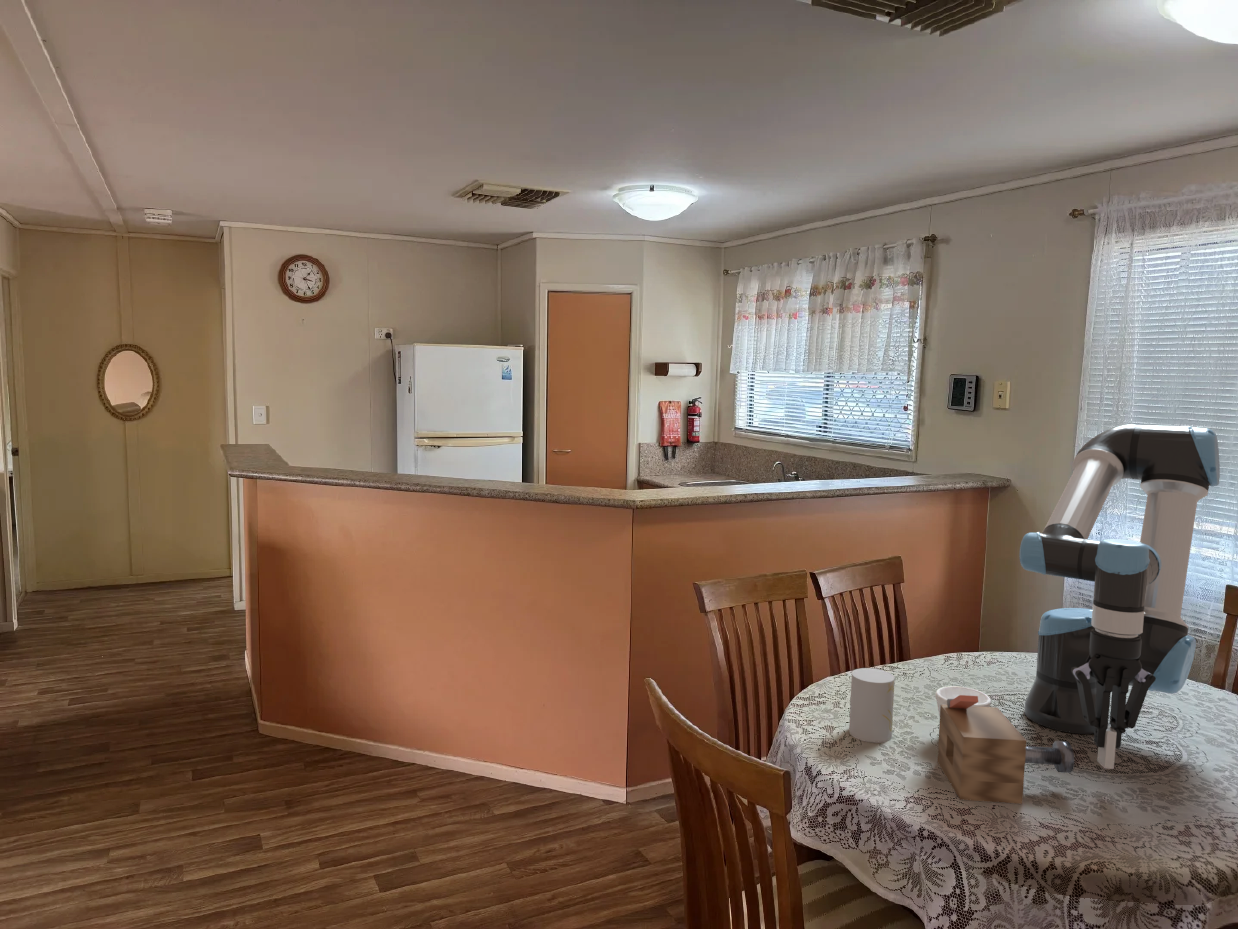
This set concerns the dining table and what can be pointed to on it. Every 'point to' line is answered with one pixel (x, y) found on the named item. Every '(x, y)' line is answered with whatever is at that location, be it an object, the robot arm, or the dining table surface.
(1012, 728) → the block
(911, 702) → the dining table surface
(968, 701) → the keeper tab
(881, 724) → the cup
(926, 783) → the dining table surface
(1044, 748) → the hitch pin
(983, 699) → the cup
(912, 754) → the dining table surface
